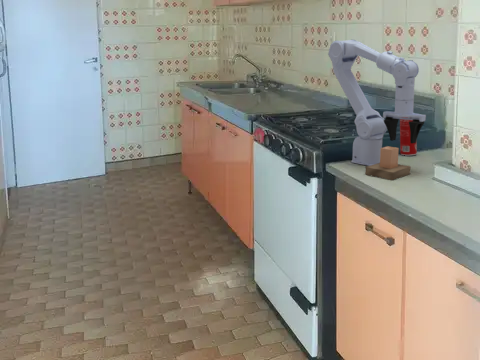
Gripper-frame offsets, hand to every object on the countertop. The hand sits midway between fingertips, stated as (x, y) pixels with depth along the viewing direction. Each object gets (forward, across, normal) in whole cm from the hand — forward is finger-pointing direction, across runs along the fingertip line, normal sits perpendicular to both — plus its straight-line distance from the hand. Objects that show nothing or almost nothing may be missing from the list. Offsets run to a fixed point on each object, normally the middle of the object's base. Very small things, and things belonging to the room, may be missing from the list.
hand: (402, 141), depth 185 cm
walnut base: (+9, 0, -8) cm, 12 cm away
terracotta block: (+7, 0, -8) cm, 10 cm away
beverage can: (+9, -11, +20) cm, 25 cm away
